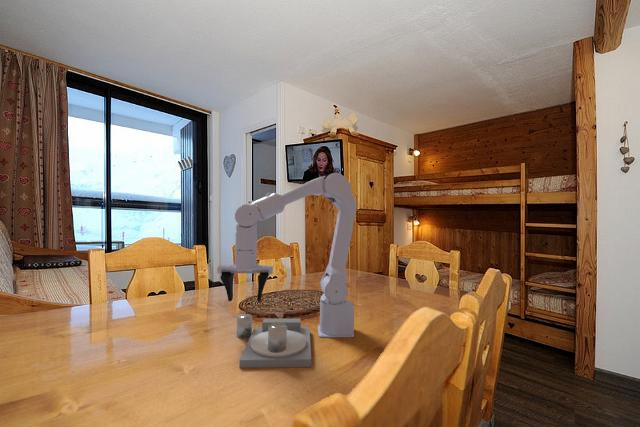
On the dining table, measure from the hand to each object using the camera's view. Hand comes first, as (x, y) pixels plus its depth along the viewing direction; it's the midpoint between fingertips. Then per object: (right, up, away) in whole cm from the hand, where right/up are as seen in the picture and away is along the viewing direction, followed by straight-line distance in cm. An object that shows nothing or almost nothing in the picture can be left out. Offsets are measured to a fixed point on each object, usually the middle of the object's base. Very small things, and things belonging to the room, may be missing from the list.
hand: (244, 300), depth 78 cm
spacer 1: (0, -9, 0) cm, 9 cm away
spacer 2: (+11, -7, -14) cm, 19 cm away
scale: (+10, -9, -8) cm, 16 cm away
